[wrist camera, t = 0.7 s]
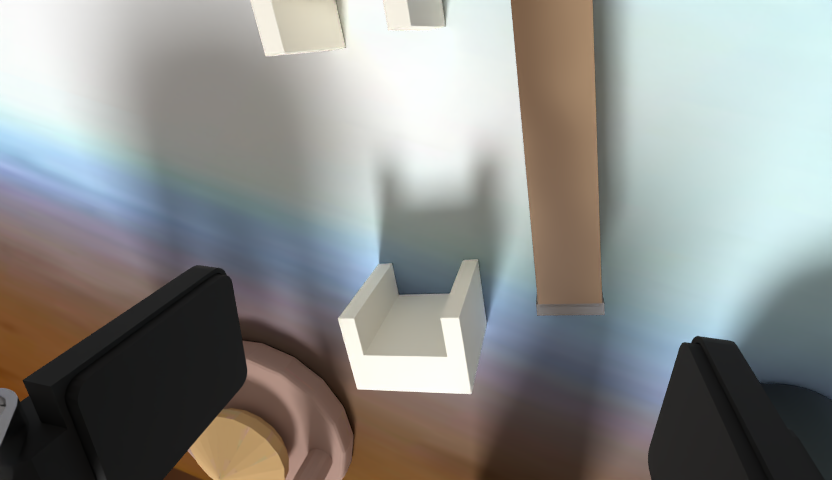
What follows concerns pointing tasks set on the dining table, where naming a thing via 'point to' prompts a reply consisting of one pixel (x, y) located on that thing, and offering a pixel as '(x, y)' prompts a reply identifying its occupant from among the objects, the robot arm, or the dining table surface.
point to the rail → (560, 151)
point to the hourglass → (277, 425)
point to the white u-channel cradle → (378, 297)
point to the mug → (806, 420)
